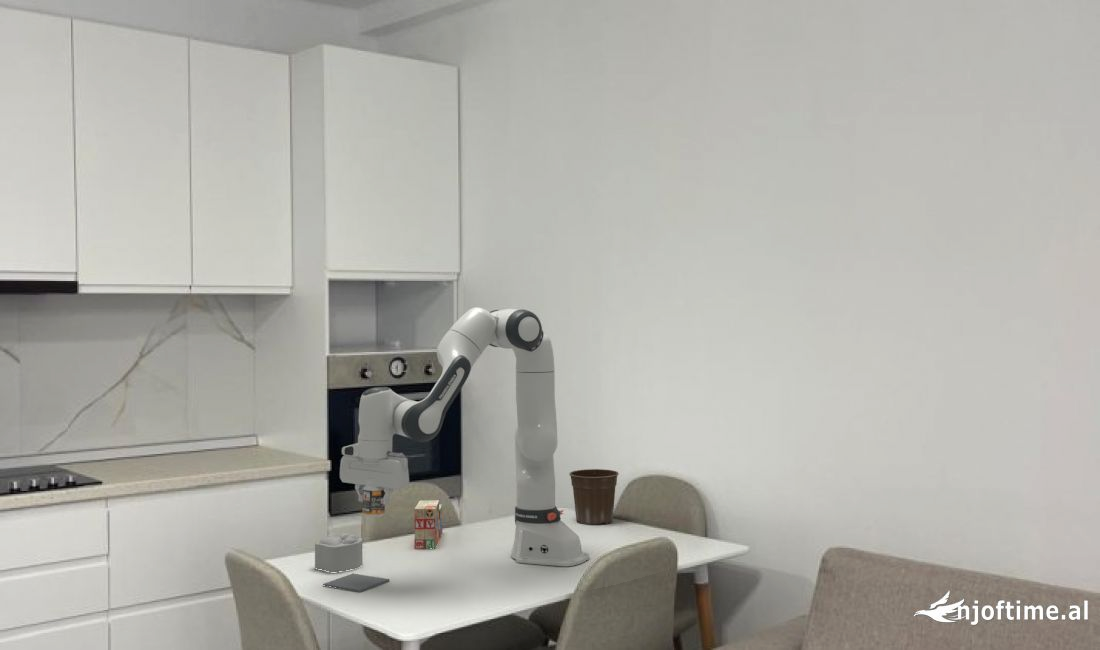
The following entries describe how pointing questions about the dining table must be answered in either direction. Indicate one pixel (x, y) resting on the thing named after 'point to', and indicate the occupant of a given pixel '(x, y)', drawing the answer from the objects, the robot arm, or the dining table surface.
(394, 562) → the dining table surface
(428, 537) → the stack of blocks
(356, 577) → the coaster
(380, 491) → the pill bottle
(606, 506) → the plant pot
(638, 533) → the dining table surface
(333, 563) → the lumpy-topped squat cylinder
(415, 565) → the dining table surface
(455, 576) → the dining table surface
